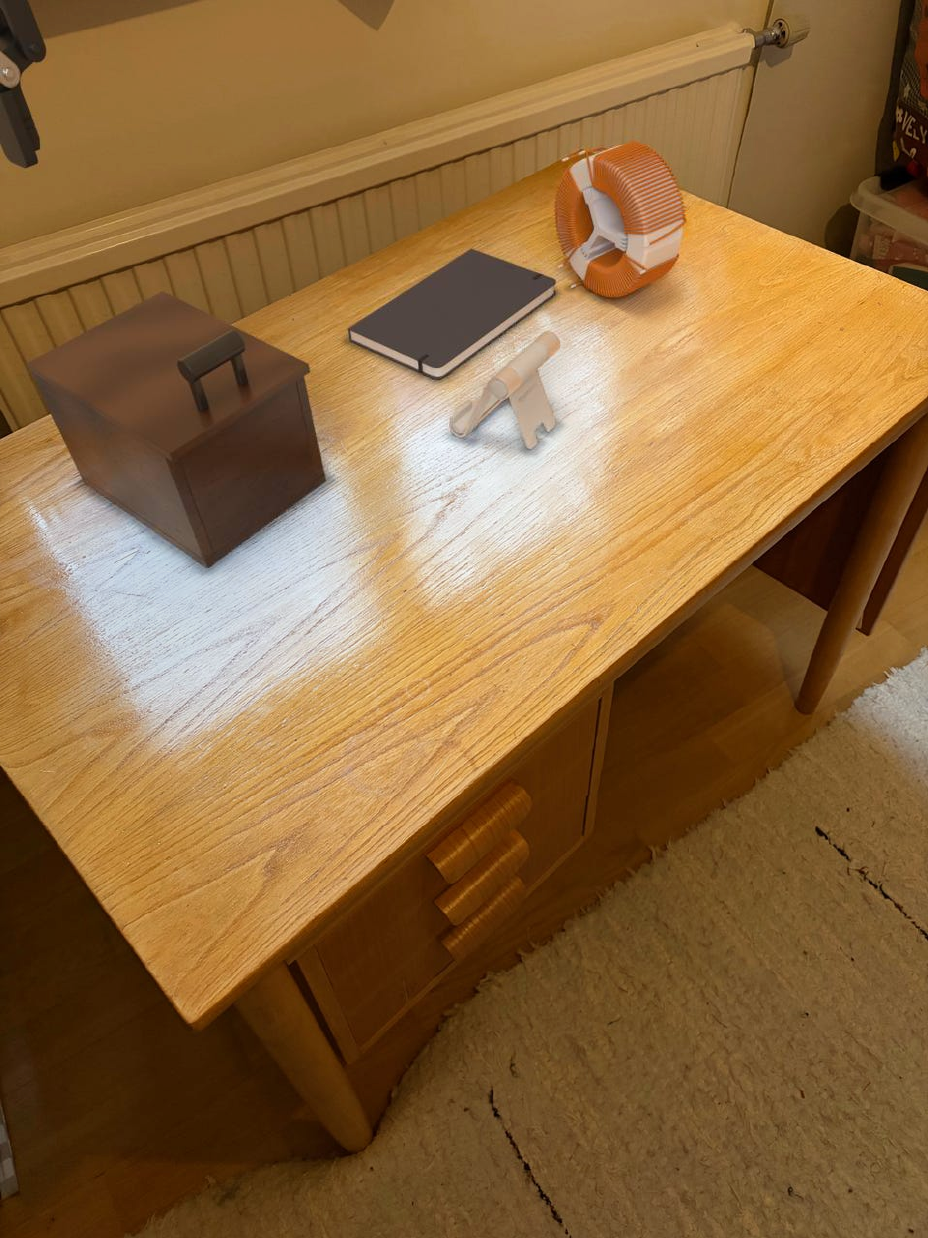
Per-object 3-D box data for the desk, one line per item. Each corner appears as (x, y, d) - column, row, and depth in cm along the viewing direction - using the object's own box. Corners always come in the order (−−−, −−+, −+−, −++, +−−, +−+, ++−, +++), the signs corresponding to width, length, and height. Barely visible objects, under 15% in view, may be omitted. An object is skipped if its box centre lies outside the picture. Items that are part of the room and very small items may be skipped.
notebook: (471, 260, 105) (349, 341, 95) (471, 247, 104) (347, 328, 94) (558, 292, 100) (438, 381, 90) (559, 279, 99) (437, 368, 88)
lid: (310, 372, 71) (299, 313, 67) (172, 462, 64) (151, 403, 60) (165, 298, 79) (147, 242, 75) (29, 371, 72) (2, 314, 68)
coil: (588, 253, 105) (598, 120, 94) (679, 303, 97) (702, 164, 86) (544, 272, 103) (549, 138, 92) (634, 326, 95) (652, 186, 84)
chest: (326, 480, 80) (303, 368, 71) (207, 568, 74) (165, 457, 65) (201, 409, 88) (165, 299, 79) (83, 482, 82) (30, 372, 72)
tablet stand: (499, 388, 89) (499, 313, 82) (566, 414, 85) (571, 338, 79) (449, 434, 84) (445, 358, 78) (518, 463, 81) (519, 386, 75)
